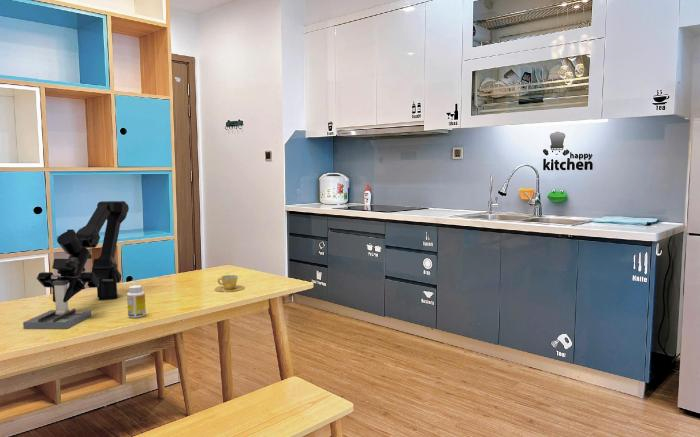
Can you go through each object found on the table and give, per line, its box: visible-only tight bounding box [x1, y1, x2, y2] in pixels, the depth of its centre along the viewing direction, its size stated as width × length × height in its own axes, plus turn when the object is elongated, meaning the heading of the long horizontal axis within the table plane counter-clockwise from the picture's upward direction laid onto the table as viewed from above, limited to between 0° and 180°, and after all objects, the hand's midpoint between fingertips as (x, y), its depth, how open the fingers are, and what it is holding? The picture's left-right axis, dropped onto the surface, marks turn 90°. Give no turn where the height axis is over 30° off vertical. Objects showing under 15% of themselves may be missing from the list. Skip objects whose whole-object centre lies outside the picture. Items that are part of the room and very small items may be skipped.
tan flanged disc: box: [214, 274, 245, 293], centre depth 212 cm, size 12×12×5 cm
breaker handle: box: [52, 280, 70, 315], centre depth 168 cm, size 3×4×11 cm
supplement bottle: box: [126, 284, 147, 319], centre depth 173 cm, size 6×6×10 cm
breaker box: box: [22, 308, 92, 330], centre depth 167 cm, size 14×14×3 cm
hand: (59, 301), depth 167 cm, fingers closed on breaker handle, 3 cm apart
